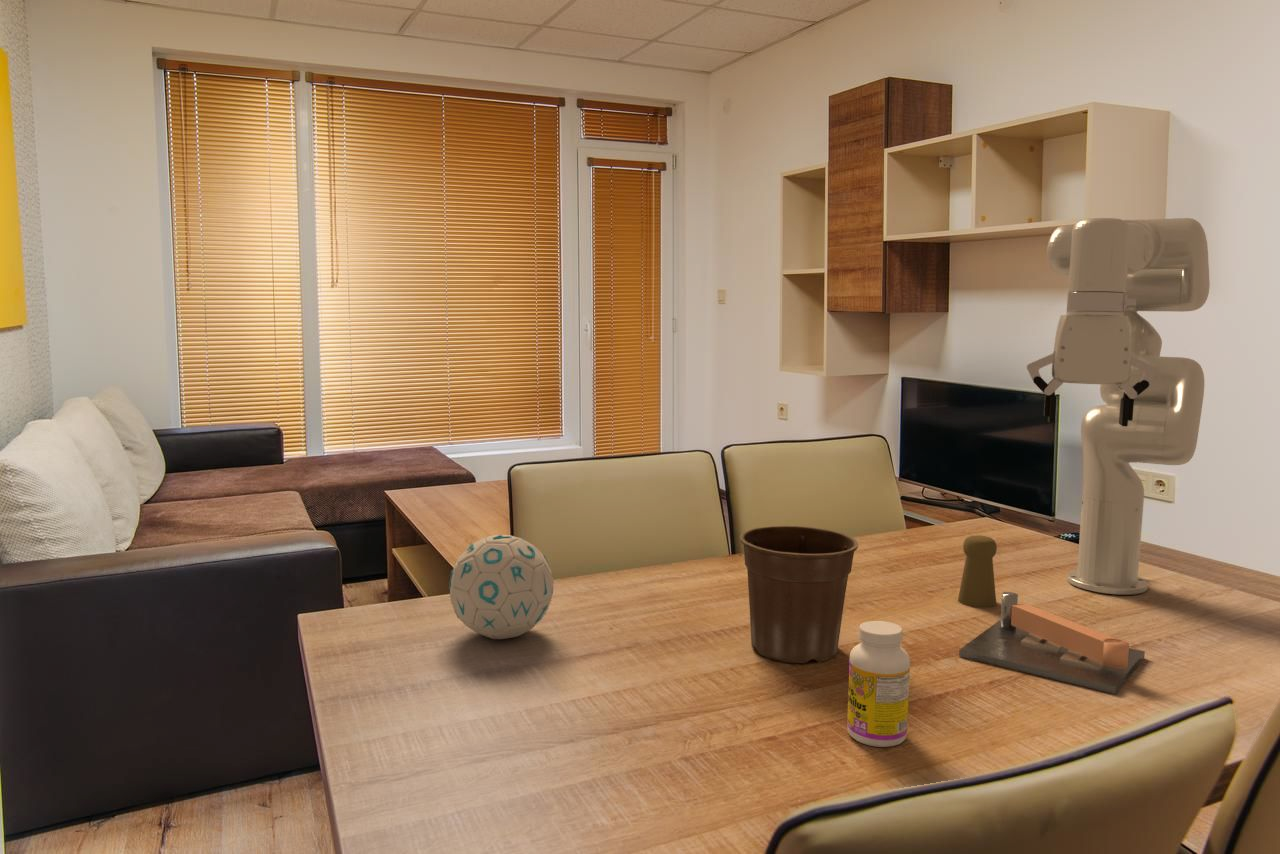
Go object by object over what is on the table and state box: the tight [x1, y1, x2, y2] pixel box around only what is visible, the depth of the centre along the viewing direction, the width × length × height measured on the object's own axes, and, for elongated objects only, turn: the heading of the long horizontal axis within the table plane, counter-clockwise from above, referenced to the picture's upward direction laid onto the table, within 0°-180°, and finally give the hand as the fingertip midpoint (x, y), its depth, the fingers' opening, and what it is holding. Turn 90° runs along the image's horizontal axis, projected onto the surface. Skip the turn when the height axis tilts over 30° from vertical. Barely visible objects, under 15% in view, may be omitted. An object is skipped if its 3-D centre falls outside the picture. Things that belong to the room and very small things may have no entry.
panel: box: [958, 591, 1146, 695], centre depth 131 cm, size 16×20×6 cm
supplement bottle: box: [846, 620, 911, 748], centre depth 107 cm, size 7×7×13 cm
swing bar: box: [1011, 602, 1130, 669], centre depth 131 cm, size 18×3×3 cm, turn 23°
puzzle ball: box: [448, 534, 554, 640], centre depth 139 cm, size 15×15×15 cm
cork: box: [957, 534, 998, 609], centre depth 156 cm, size 6×6×11 cm
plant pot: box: [739, 525, 859, 664], centre depth 134 cm, size 16×16×16 cm
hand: (1086, 423), depth 139 cm, fingers open, 9 cm apart
